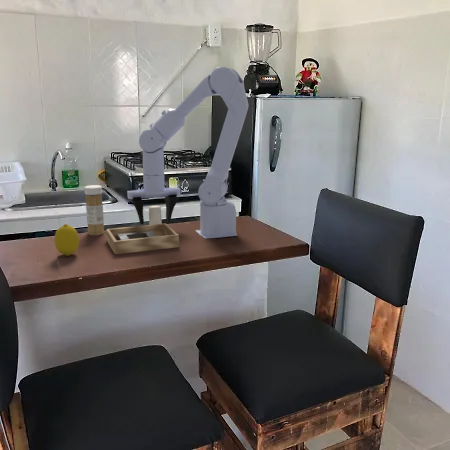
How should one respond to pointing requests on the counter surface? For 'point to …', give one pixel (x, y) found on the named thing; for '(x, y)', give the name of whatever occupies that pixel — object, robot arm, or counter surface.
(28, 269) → the counter surface
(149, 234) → the plate
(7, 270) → the counter surface
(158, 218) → the peg
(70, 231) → the lemon
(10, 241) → the counter surface
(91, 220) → the sprinkles bottle
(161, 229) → the crate
